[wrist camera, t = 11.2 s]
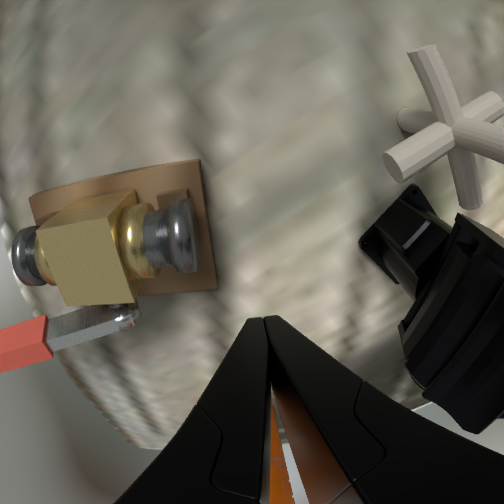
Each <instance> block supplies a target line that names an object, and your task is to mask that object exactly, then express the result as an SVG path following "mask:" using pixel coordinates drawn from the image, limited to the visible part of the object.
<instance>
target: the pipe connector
mask: <svg viewBox="0 0 504 504" xmlns="http://www.w3.org/2000/svg"><path fill="white" fill-rule="evenodd" d="M407 54H408V56H409V58H410V60H411V62H412V64H413V66H414V68H415V71H416V73H417V75H418V77H419V79H420V81H421V84H422V86H423V88H424V91H425V93H426V95H427V98H428V100H429V103H430V105H431V108H432V110H433V111H429V110H422V109H415V108H403V109H401V110H400V112H399V113H398V118H397V119H398V124H399V126H400V128H401V129H402V130H403V131H405V132H409V133H413V134H414V135H412V136H410V137H409V138H407V139H405V140H404V141H402V142H400V143H399V144H397V145H395V146H394V147H392V148H390V149H389V150H387V151H385V152H384V153H383V155H382V158H383V162H384V164H385V166H386V168H387V170H388V172H389V173H390V174H391V176H392V177H393V178H394V179H395V180H396V181H397V182H399V183H403V182H404V181H406V180H408V179H409V178H411V177H412V176H414V175H415V174H417V173H418V172H420V171H421V170H423V169H425V168H426V167H428V166H429V165H431V164H432V163H434V162H435V161H437V160H438V159H440V158H441V157H443V156H444V155H446V154H447V155H448V159H449V163H450V166H451V170H452V174H453V178H454V182H455V187H456V191H457V196H458V201H459V205H460V206H461V207H462V208H463V209H467V210H474V209H476V208H478V207H480V206H481V204H482V203H483V201H482V193H481V187H480V181H479V176H478V170H477V165H476V161H475V156H474V153H477V154H479V155H482V156H485V157H487V158H490V159H492V160H495V161H497V162H499V163H502V164H504V127H503V126H500V125H496V124H492V123H493V122H495V121H496V120H498V119H499V118H501V117H502V116H503V115H504V103H503V101H502V99H501V98H500V97H499V95H498V94H497V93H494V92H492V91H490V92H487V93H485V94H483V95H481V96H479V97H478V98H476V99H474V100H472V101H471V102H469V103H467V104H465V105H464V106H462V107H461V106H460V103H459V100H458V97H457V95H456V92H455V89H454V87H453V84H452V81H451V79H450V76H449V74H448V72H447V69H446V67H445V65H444V62H443V60H442V58H441V56H440V54H439V52H438V49H437V47H436V45H435V44H432V45H426V46H422V47H419V48H415V49H413V50H410V51H408V52H407Z"/></svg>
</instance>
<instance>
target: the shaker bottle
mask: <svg viewBox="0 0 504 504" xmlns="http://www.w3.org/2000/svg"><path fill="white" fill-rule="evenodd" d="M292 495H293V493H292V489H291V484H290V482H289V475H288V471H287V467H286V463H285V458H284V453H283V450H282V445H281V440H280V436H279V431H278V427H277V422H276V418H275V413H274V409H273V406H272V405H271V461H270V502H269V504H295V501H294V498H292Z"/></svg>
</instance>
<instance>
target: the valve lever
mask: <svg viewBox="0 0 504 504" xmlns="http://www.w3.org/2000/svg"><path fill="white" fill-rule="evenodd" d="M141 316H142V312H141V310H140V307H139V304H138V302H137V299H136V300H135V303H126V304H125V305H123V306H122V307H120V308H116V309H113V308H110V307H109V306H108V304H101V305H92V306H89V307H86V308H83V309H80V310H77V311H74V312H70V313H67V314H64V315H61V316H58V317H55V318H52V319H48V318H47V316H46V315H43V316H40V317H37V318H34V319H31V320H28V321H25V322H22V323H19V324H16V325H13V326H10V327H7V328H4V329H1V330H0V373H2V372H5V371H9V370H13V369H16V368H20V367H24V366H27V365H31V364H34V363H38V362H41V361H45V360H48V359H52V358H53V351H57V350H60V349H63V348H67V347H70V346H73V345H76V344H80V343H83V342H86V341H89V340H92V339H96V338H99V337H102V336H105V335H108V334H111V333H114V332H117V331H121V330H126V329H129V328H131V327H133V326H135V325H136V324H137V323H138V322H139V320H140V319H141Z"/></svg>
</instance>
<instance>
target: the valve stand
mask: <svg viewBox="0 0 504 504" xmlns="http://www.w3.org/2000/svg"><path fill="white" fill-rule="evenodd" d="M28 199H29V202H30V206H31V209H32V213H33V216H34V219H35V223H36V226H31V227H27V228H24V229H22V230H20V231H19V232H18V233H17V235H16V236H15V239H14V241H13V245H12V264H13V268H14V270H15V273H16V275H17V277H18V278H19V280H20V281H21V282H22V283H23V284H25V285H27V286H42V285H45V284H47V283H48V284H49V285H52V286H57V287H58V289H59V291H60V293H61V295H62V297H63V299H64V301H65V304H66V306H79V305H101V304H108V306H109V307H110V308H113V309H116V308H120V307H122V306H123V305H125V304H126V303H135V300H136V298H137V296H138V295H152V294H164V293H176V292H188V291H199V290H209V289H217V275H216V269H215V263H214V257H213V250H212V244H211V237H210V231H209V224H208V217H207V210H206V203H205V196H204V189H203V181H202V174H201V166H200V159H195V160H187V161H180V162H174V163H167V164H161V165H155V166H150V167H144V168H139V169H133V170H128V171H123V172H118V173H114V174H109V175H104V176H100V177H96V178H91V179H87V180H83V181H79V182H75V183H71V184H68V185H64V186H60V187H56V188H53V189H49V190H46V191H43V192H39V193H36V194H34V195H32V196H31V197H29V198H28Z"/></svg>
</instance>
